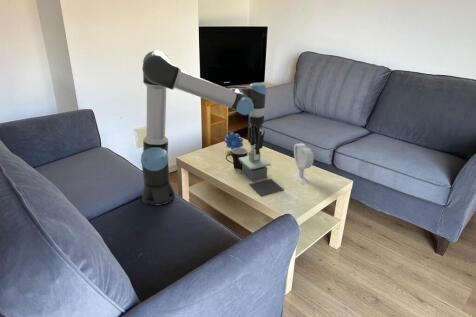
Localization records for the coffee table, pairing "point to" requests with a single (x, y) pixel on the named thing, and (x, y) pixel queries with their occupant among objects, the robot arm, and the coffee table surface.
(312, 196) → the coffee table surface
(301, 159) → the heart sculpture
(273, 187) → the mat
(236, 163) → the coffee mug
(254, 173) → the grey open box
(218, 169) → the coffee table surface
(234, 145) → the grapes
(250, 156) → the lid
